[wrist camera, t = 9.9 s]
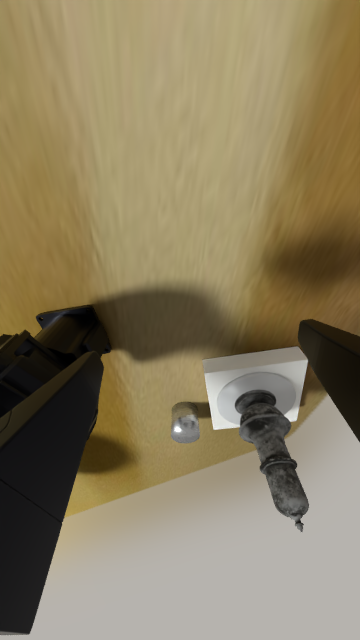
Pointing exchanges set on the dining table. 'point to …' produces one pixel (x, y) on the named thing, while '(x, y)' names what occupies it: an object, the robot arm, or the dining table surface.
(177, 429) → the spacer
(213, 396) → the scale
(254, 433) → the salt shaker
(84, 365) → the robot arm
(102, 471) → the dining table surface
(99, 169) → the dining table surface
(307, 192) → the dining table surface
